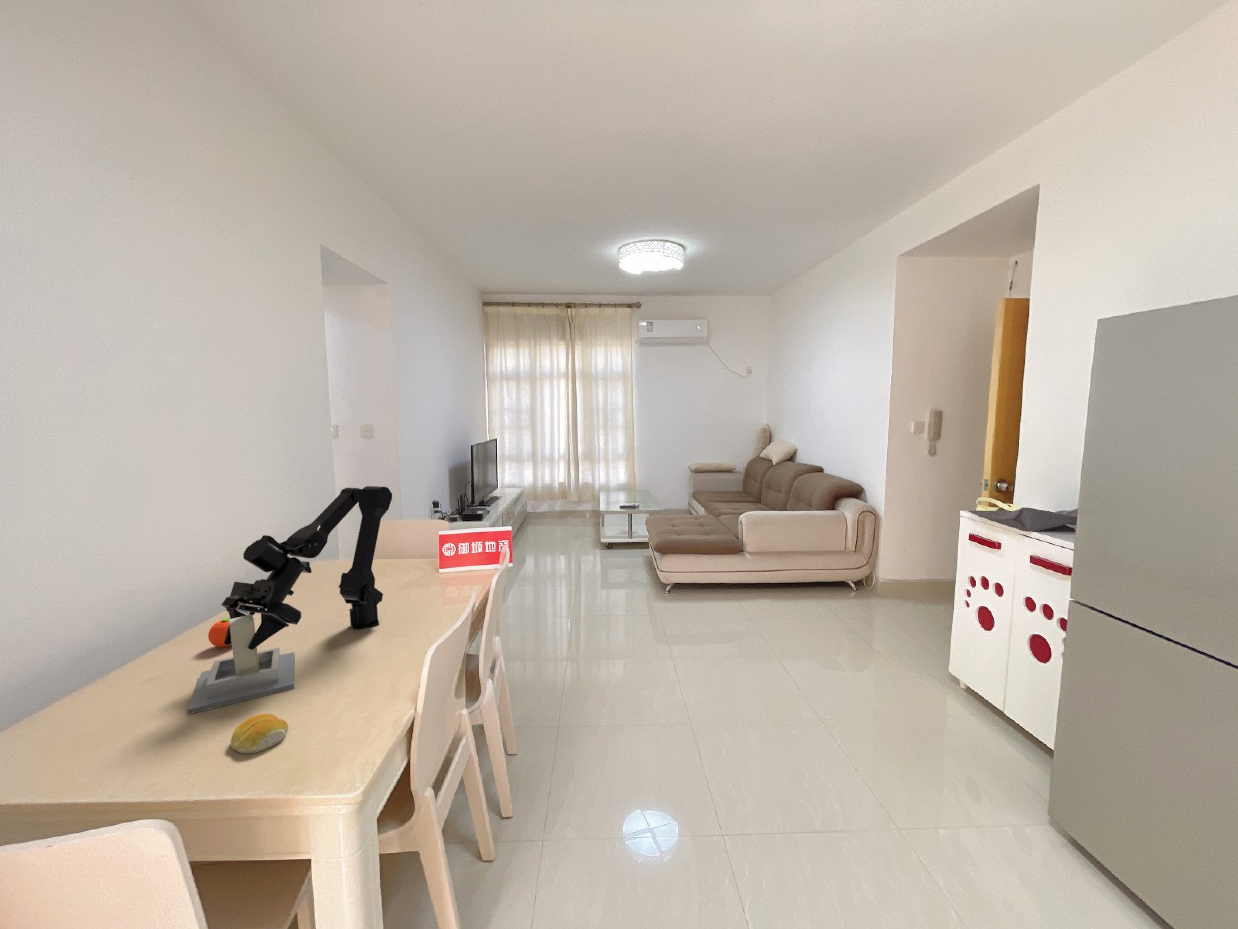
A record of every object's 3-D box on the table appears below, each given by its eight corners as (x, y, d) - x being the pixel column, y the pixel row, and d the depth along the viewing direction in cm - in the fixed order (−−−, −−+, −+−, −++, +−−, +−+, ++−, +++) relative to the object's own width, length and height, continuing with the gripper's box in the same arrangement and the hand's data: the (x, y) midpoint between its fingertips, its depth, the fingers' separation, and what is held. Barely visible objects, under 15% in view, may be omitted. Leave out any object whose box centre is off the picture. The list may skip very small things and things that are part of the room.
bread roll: (271, 721, 101) (269, 702, 101) (295, 735, 97) (293, 715, 96) (221, 745, 94) (219, 724, 94) (245, 761, 90) (243, 739, 89)
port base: (294, 655, 128) (294, 652, 128) (294, 688, 113) (293, 683, 113) (202, 676, 119) (201, 672, 119) (187, 714, 104) (187, 709, 104)
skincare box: (260, 674, 115) (255, 622, 114) (235, 681, 112) (229, 627, 111) (257, 664, 120) (252, 613, 118) (233, 670, 117) (228, 618, 116)
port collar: (280, 659, 124) (279, 647, 124) (278, 682, 114) (277, 668, 114) (215, 673, 118) (214, 661, 118) (207, 699, 107) (205, 685, 107)
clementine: (215, 641, 137) (212, 615, 137) (247, 636, 140) (244, 611, 139) (205, 654, 130) (202, 627, 129) (238, 649, 133) (236, 622, 132)
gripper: (225, 561, 120) (177, 627, 111) (284, 568, 114) (238, 638, 105) (262, 583, 128) (220, 646, 119) (319, 591, 122) (279, 657, 113)
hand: (237, 646), depth 114 cm, fingers closed on skincare box, 7 cm apart
